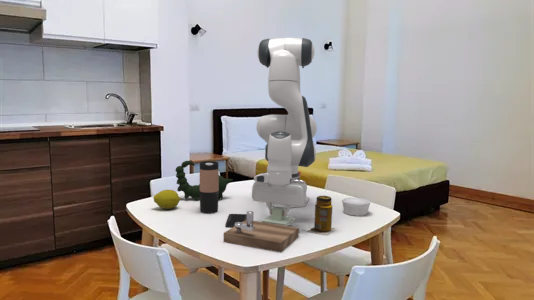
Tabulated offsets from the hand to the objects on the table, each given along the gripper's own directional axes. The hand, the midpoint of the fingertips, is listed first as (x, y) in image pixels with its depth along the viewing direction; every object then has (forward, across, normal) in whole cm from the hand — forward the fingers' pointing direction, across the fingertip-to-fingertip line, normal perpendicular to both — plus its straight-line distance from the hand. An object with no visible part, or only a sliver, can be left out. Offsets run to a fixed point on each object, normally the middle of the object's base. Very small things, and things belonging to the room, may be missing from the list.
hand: (278, 215), depth 150 cm
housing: (+4, 0, +14) cm, 15 cm away
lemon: (+5, +50, -1) cm, 50 cm away
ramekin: (+5, -21, -32) cm, 39 cm away
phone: (+5, +16, +1) cm, 17 cm away
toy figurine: (+4, +45, -22) cm, 51 cm away
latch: (0, +4, +19) cm, 20 cm away
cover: (+2, 0, 0) cm, 3 cm away
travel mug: (+4, +33, -6) cm, 34 cm away
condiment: (+5, -15, -4) cm, 16 cm away
